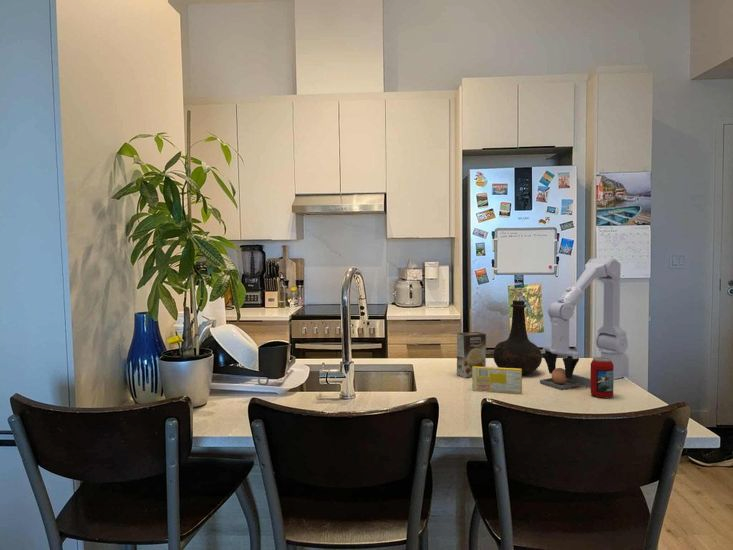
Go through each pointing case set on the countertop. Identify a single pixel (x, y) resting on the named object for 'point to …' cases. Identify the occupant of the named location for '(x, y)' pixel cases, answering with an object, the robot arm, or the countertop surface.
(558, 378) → the ball
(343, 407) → the countertop surface
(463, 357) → the coffee box
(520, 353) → the glass bottle
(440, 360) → the countertop surface
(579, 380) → the low fence
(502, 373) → the candy box
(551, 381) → the charcoal dish
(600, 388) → the beverage can
